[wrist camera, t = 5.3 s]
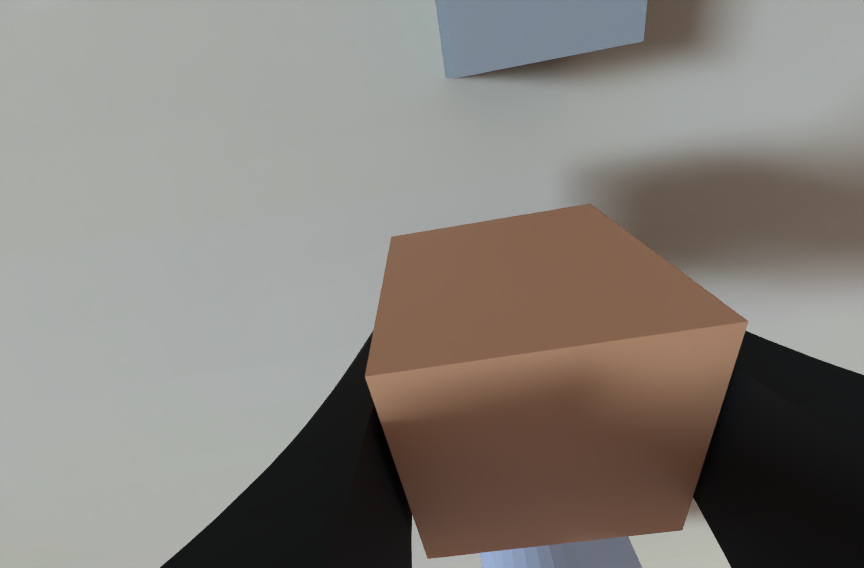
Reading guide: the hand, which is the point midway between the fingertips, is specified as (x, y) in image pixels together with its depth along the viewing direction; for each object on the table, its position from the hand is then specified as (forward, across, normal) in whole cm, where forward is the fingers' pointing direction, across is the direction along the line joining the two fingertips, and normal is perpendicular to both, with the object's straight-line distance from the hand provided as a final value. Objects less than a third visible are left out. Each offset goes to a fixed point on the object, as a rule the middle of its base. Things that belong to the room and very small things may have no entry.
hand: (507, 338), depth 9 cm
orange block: (+2, 0, 0) cm, 2 cm away
